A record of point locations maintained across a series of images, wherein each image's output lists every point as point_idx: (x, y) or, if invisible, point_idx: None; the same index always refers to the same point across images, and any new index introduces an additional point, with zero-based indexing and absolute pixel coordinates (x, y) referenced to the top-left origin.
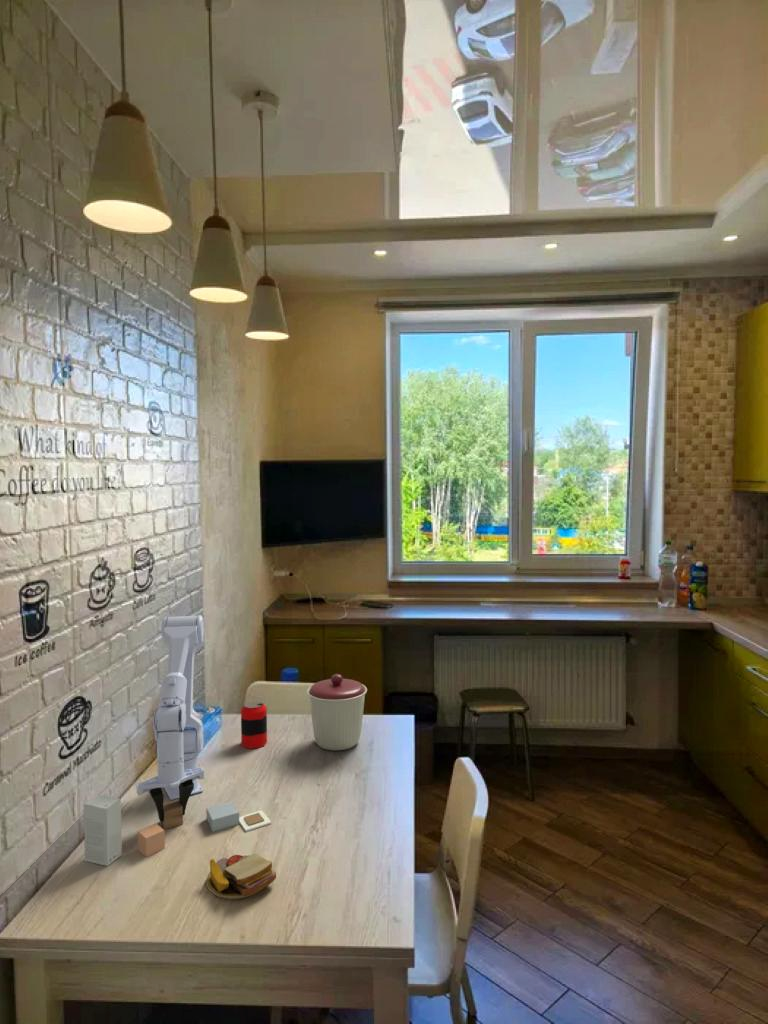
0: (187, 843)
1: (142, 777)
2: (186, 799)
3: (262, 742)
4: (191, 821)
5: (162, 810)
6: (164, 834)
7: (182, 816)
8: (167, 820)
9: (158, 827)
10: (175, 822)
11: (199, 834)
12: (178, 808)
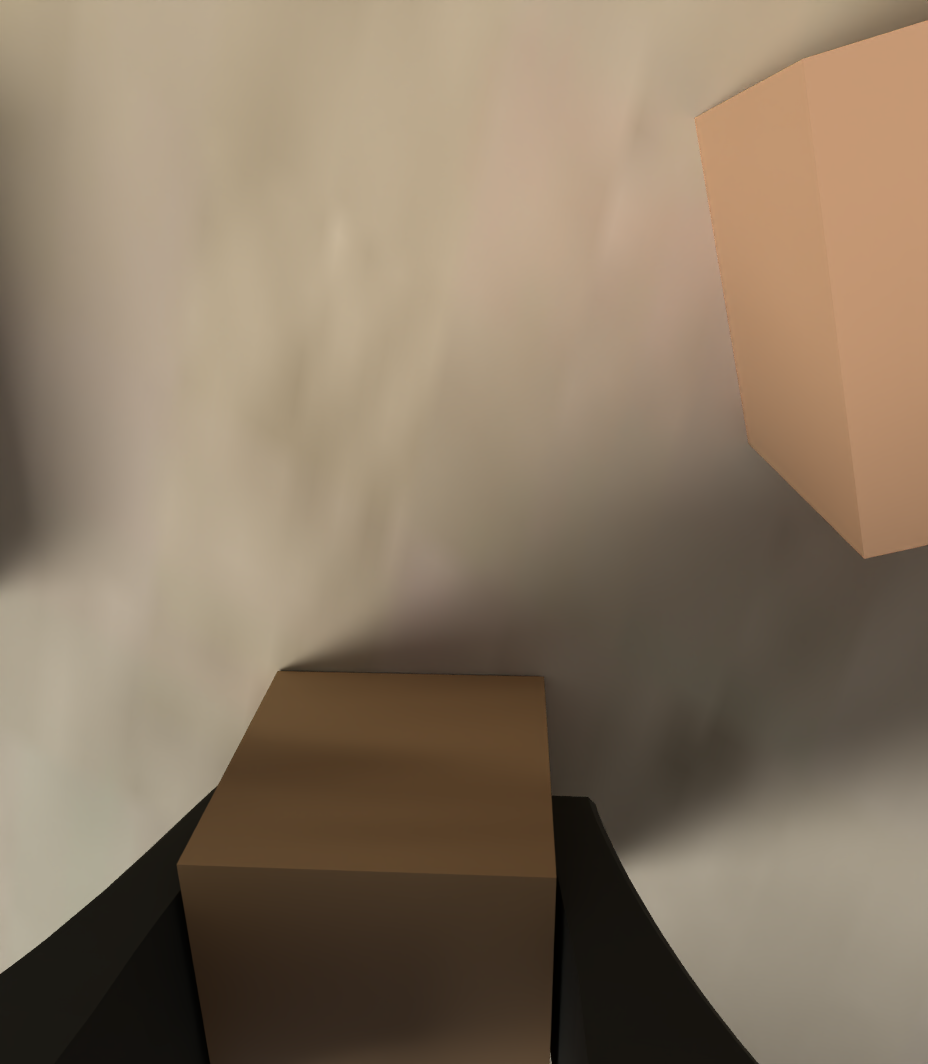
0: (302, 42)
1: None
2: (29, 986)
3: None
4: (154, 669)
5: (586, 927)
6: (766, 84)
7: (247, 740)
8: (498, 749)
9: (882, 315)
10: (376, 705)
11: (72, 230)
12: (265, 859)
